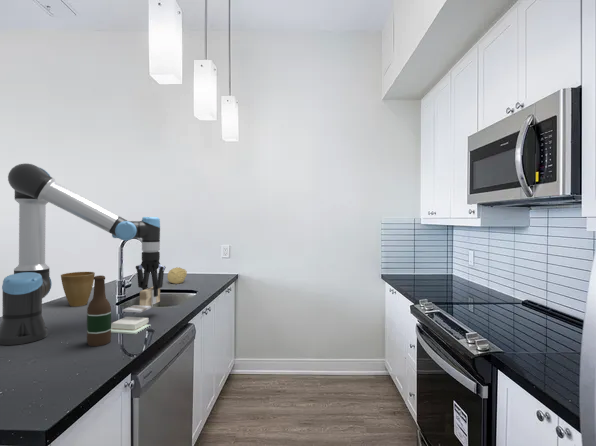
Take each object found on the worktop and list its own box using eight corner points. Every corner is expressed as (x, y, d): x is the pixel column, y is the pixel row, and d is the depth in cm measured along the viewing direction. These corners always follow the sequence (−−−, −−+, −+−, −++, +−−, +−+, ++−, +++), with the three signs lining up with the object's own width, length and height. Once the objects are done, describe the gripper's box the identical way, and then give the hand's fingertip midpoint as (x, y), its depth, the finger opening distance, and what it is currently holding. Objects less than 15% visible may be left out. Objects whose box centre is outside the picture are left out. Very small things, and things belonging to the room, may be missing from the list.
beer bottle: (83, 347, 128) (84, 278, 128) (89, 340, 135) (90, 274, 135) (108, 345, 130) (109, 277, 130) (113, 338, 138) (113, 274, 137)
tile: (148, 323, 156) (134, 330, 146) (126, 322, 157) (111, 328, 147) (148, 317, 156) (134, 324, 146) (126, 316, 157) (111, 323, 147)
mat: (135, 334, 143) (135, 332, 143) (102, 332, 145) (102, 330, 145) (150, 326, 154) (150, 324, 154) (119, 324, 156) (119, 322, 156)
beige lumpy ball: (175, 285, 248) (176, 269, 248) (163, 283, 254) (164, 267, 254) (189, 282, 257) (189, 267, 257) (177, 280, 264) (177, 265, 264)
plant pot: (83, 300, 198) (83, 270, 198) (100, 304, 191) (101, 273, 191) (53, 306, 185) (54, 274, 185) (71, 310, 178) (71, 276, 178)
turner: (140, 312, 152) (140, 295, 152) (122, 311, 153) (122, 294, 153) (165, 301, 172) (165, 286, 172) (149, 300, 173) (149, 285, 173)
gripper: (171, 251, 169) (170, 302, 169) (139, 250, 171) (138, 300, 171) (163, 252, 161) (162, 306, 161) (129, 251, 163) (128, 304, 164)
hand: (150, 303), depth 166 cm, fingers closed on turner, 3 cm apart
